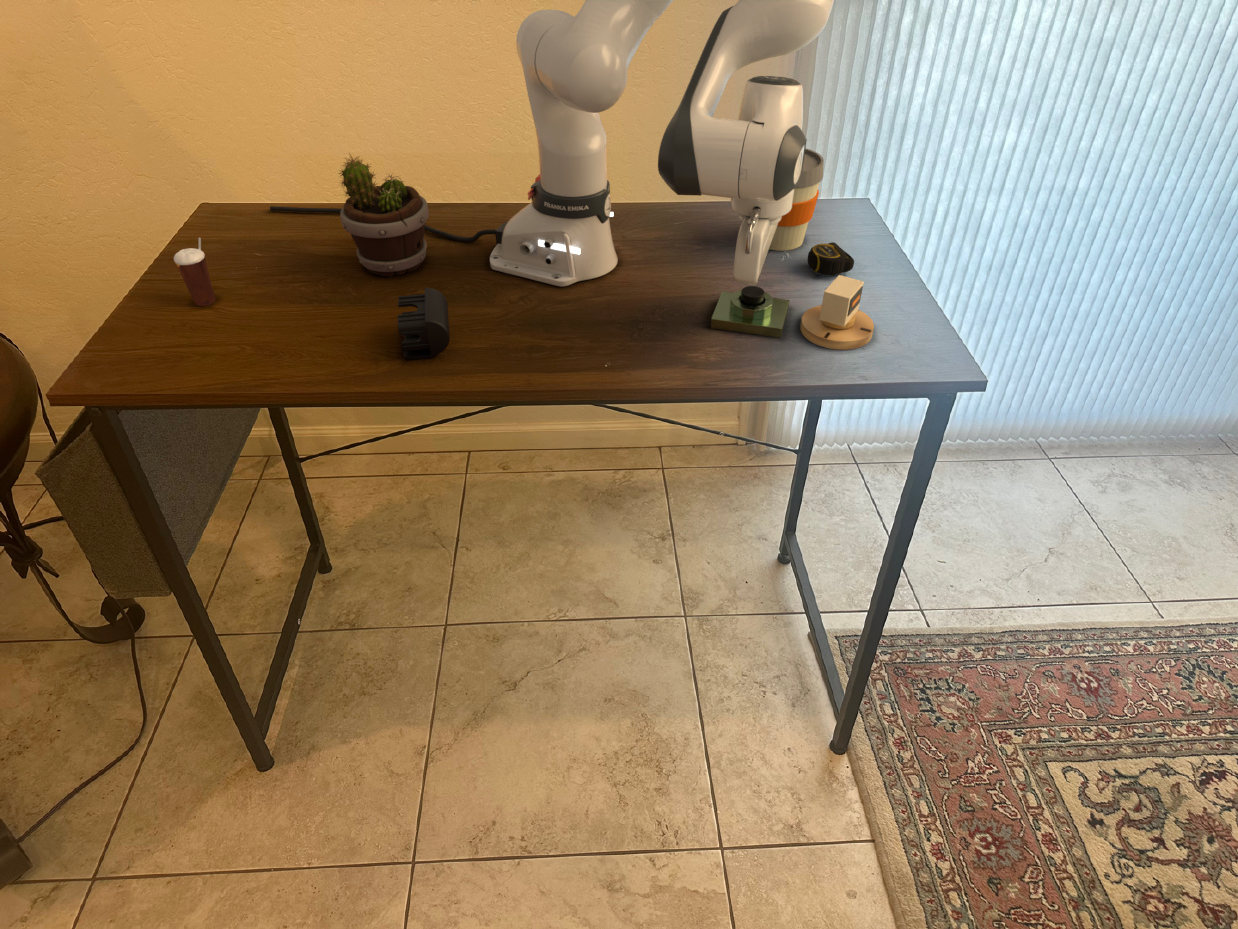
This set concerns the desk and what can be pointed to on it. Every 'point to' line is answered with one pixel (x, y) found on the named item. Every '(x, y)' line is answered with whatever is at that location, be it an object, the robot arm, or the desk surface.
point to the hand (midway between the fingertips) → (752, 281)
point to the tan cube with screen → (841, 302)
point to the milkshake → (195, 275)
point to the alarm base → (750, 315)
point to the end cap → (424, 324)
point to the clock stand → (836, 331)
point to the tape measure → (829, 259)
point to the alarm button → (752, 296)
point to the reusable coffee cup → (800, 205)
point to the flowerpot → (383, 221)
